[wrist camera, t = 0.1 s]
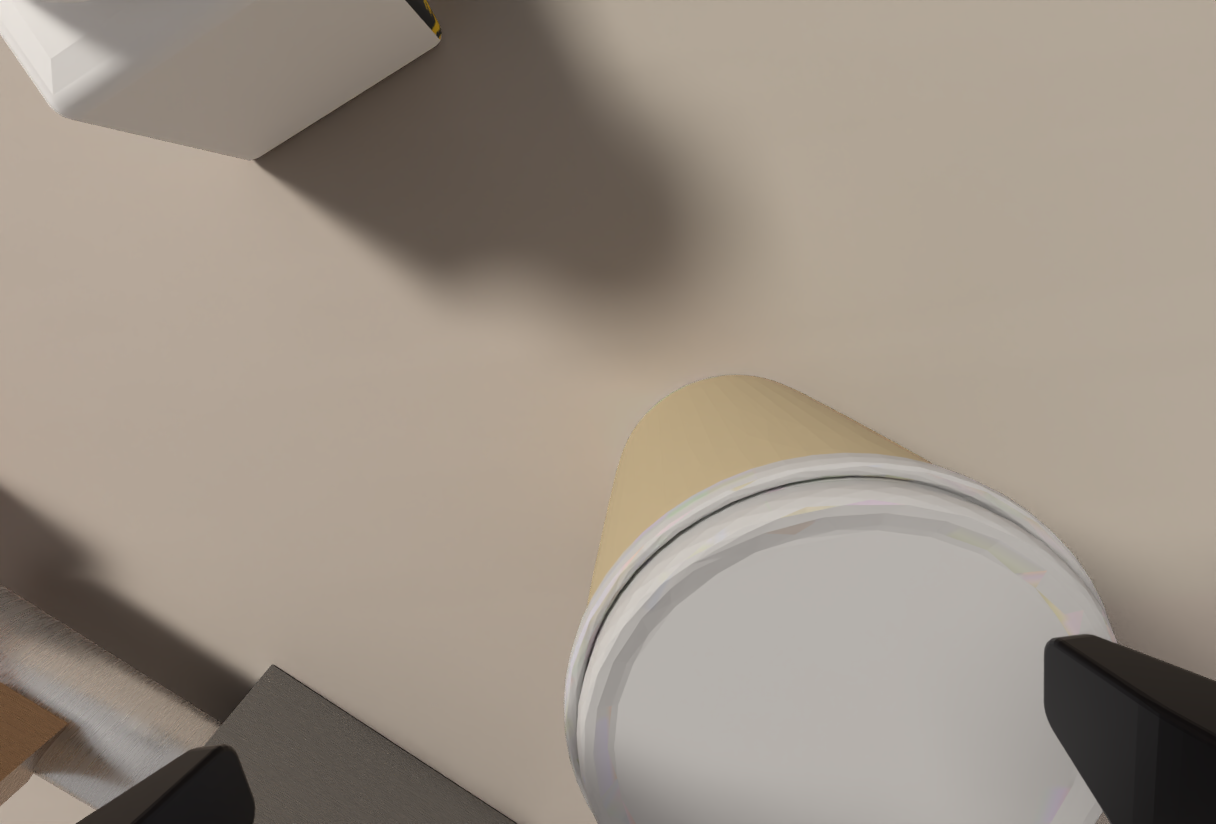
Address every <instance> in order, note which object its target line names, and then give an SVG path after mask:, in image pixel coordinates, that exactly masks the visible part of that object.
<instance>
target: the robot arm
mask: <svg viewBox="0 0 1216 824" xmlns="http://www.w3.org/2000/svg"><path fill="white" fill-rule="evenodd" d="M1043 701H1044V709H1045V714H1046V717H1047V720H1048V722H1049V724H1050V726H1051V728H1052V730H1053V732H1054V733H1055V735H1056V737H1057V738H1058V740H1059V741H1060V743H1061V745H1062V746H1063V748H1064V749H1065V751H1066V753H1067V754H1068V756H1069V757H1070V759H1071V761H1072V762H1073V764H1074V766H1075V767H1076V769H1077V770H1078V772H1079V774H1080V775H1081V777H1082V778H1083V780H1084V782H1085V783H1086V785H1087V786H1088V788H1089V790H1090V791H1091V793H1092V794H1093V796H1094V798H1095V799H1096V801H1097V802H1098V804H1099V806H1100V807H1101V809H1102V810H1103V812H1104V814H1105V815H1106V817H1107V818H1108V820H1109V822H1110V823H1111V824H1216V681H1214V680H1211V679H1209V678H1206V677H1203V676H1201V675H1198V674H1195V673H1193V672H1190V671H1188V670H1185V669H1182V668H1180V667H1177V666H1174V665H1172V664H1169V663H1167V662H1164V661H1161V660H1159V659H1156V658H1153V657H1151V656H1148V655H1146V654H1143V653H1140V652H1138V651H1135V650H1132V649H1130V648H1127V647H1125V646H1122V645H1119V644H1117V643H1114V642H1111V641H1109V640H1106V639H1103V638H1101V637H1098V636H1095V635H1092V634H1078V635H1071V636H1063V637H1055V638H1052V639H1050V640H1049V641H1048V642H1047V643H1046V645H1045V647H1044V700H1043ZM254 818H255V800H254V796H253V794H252V791H251V788H250V786H249V783H248V780H247V778H246V775H245V772H244V769H243V767H242V764H241V761H240V759H239V756H238V754H237V752H236V750H235V749H234V748H233V747H232V746H230V745H227V744H219V745H211V746H203V747H197V748H193V749H191V750H189V751H187V752H185V753H184V754H182V755H180V756H179V757H177V758H176V759H174V760H173V761H171V762H170V763H168V764H167V765H165V766H164V767H162V768H160V769H159V770H157V771H156V772H154V773H153V774H151V775H150V776H148V777H147V778H145V779H144V780H142V781H141V782H139V783H137V784H136V785H134V786H133V787H131V788H130V789H128V790H127V791H125V792H124V793H122V794H121V795H119V796H117V797H116V798H114V799H113V800H111V801H110V802H108V803H107V804H105V805H104V806H102V807H101V808H99V809H97V810H96V811H94V812H93V813H91V814H90V815H88V816H87V817H85V818H84V819H82V820H81V821H79V822H78V823H76V824H253V823H254Z"/></svg>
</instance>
